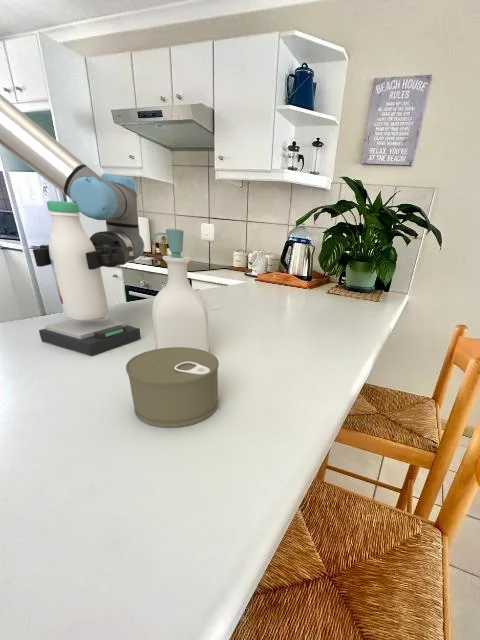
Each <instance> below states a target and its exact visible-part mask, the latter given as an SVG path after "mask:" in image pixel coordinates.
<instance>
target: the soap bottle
mask: <svg viewBox="0 0 480 640" xmlns="http://www.w3.org/2000/svg"><path fill="white" fill-rule="evenodd" d="M184 233H185V231H184V229H183V230H182V229H179V228H166V229H165V232H157V233H154V234H152V235H150V237H151V238H154V237H157V236H166V239H167V244H168V245H167V246H168V249H169V251H170V252H171V255H163V256H162V260H163V261H164V262H165V263H166V267H167V283H166V285H165V286H164V287H163V288H162V289H160V290H159V291H158V293H156V294H155V297H154V299H153V302H152V317H151V318H152V324H153V334H154V342H155V349H161V348H170V347H186V348H195V349H200V350H204V351H207V352H209V353H210V331H209V330H210V329H209V327H210V326H209V313H208V308H207V304H206V301H205V299H204V297H203V296H202V295H201V294H200V293H199V292H198V291H197V290H196V289H195V288H194V287H192V285H191V283H190V281H189V277H188V263H190V262H191V257H189V256H184V255H181V253H182V252H183V249H184Z"/></svg>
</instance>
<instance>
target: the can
mask: <svg viewBox="0 0 480 640" xmlns="http://www.w3.org/2000/svg"><path fill="white" fill-rule="evenodd" d="M219 364H220V363H219V359H218V358H217V356H216V355H215V354H213V353H211V352H210V351H209V352H207V351H204V350H200V349H195V348H186V347H170V348H161V349H156V348H155V349H151V350H147V351H143V352H141V353H139V354H137V355H135V356H133V357H131V358H130V359H129V360H128V361H127V363H126V365H125V371H126V374H127V376H128V380H129V386H130V391H131V397H132V402H133V408H134V414H135V416H136V418H137V419H138V420H139V421H141V422H143V423H144V424H147V425H149V426H153V427H158V428H170V429H171V428H181V427H189V426H192V425H195V424H198V423H201V422H202V421H205V420H206V419H208V418H210V417H211V416H212V415H214V414H215V412H216V411H217V410H218V408H219V407H218V406H219V398H218V397H219V383H218V381H219V379H218V378H219V377H218V376H219V375H218V374H219V373H218V372H219V371H218V370H219V366H220V365H219Z"/></svg>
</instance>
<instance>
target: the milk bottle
mask: <svg viewBox="0 0 480 640" xmlns="http://www.w3.org/2000/svg"><path fill="white" fill-rule="evenodd" d="M46 206H47V210H48V211H49V216H50V217H51V220H52V221H51V222H52V225H51V227H52V228H51V232H50V238H49V242H48V245H49V255H50V260H51V269H52V273H53V277H54V281H55V284H56V288H57V293H58V296H59V300H60V304H61V308H62V311H63V315H64V316H65V318H67V319H68V320H72V319H74V320H90V319H97V318H101V317H102V318H105V317H107V316H108V315H109V305H108V301H107V296H106V290H105V285H104V278H103V274H102V270H101V267H99V268H96V269H94V270H91V269H88V264H87V259H86V253H88V252H92V251H96V250H95V247H94V245H93V244H92V242H91V240H90V237H89V236H88V234H87V232H86V231H85V229H84V227H83V225H82V222H81V220H80V217H81V213H80V211H79V207H78V204H77V203H74V202H72V201H60V200H47V201H46Z"/></svg>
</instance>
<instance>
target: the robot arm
mask: <svg viewBox="0 0 480 640" xmlns="http://www.w3.org/2000/svg"><path fill="white" fill-rule="evenodd" d="M0 146H1V147H3V148H4V149H5V150H6V151H8V152H9V153H11V154H12V155H13V156H14V157H16V158H17V159H18V160H20V161H21V162H22V163H24V164H25V165H26V166H27V167H29V168H30V169H31V170H33V172H35V173H36V174H38V175H39V176H40V177H42V178H43V179H44V180H46V182H48V183H50V184H51V185H52V186H53V187H55V188H56V189H58V191H60V192H61V193H62V194H63V195H65V196H66V197H68V198H69V199H70V200H71V202H74V203H77V204H78V207H79V213H80V214H82V215H83V216H85V217H87V218H90V219H93V220H97V221H105V225H106V230H104V231H96V232H95V233H93V234H91V236H90V237H89V239H90V240H91V242H92V244H93V245H94V247H95V250H96V251H92V252H88V253H86V259H87V264H88V269H91V270H94V269H96V268H99V267H100V268H102V267H104V268H115V267H121V266H123V265H127V263H129V262H131V261H135V260H137V259H139V258H140V256H142V254H143V253H144V251H145V242H144V239H143V237H142V236H141V234H140V225H139V213H138V212H139V211H138V199H137V198H138V193H137V188H136V182H135V180H134V179H133V178H132V177H129V176H124V175H119V174H115V173H102V174H101V175H99V174H98V173H97V172H95V171H94V170H93V169H92V168H90V167H89V166H87V165H86V163H84V162H83V161H82V160H80V159H79V158H78V157H77V156H76V155H75V154H74V153H72V152H71V151H70V150H69V149H67V147H65V146H64V145H62V144H61V143H60V142H59V141H57V140H56V139H55V138H54V137H53V136H51V134H49V133H48V132H47V131H45V129H43V128H42V127H41V126H40V125H38V124H37V123H36V122H34V120H32V119H31V118H30V117H29V116H27V115H26V114H25V113H24V112H23V111H22V110H20V109H19V108H18V107H16V106H15V104H13V103H12V102H11V101H9V99H7V98H6V97H4V96H3V94H1V93H0ZM38 247H39V248H35V249H32V252H33V257H34V261H35V264H36V267H40V268H41V267H46V266H50V265H51V260H50V255H49V244H41V245H38ZM51 266H52V265H51Z"/></svg>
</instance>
